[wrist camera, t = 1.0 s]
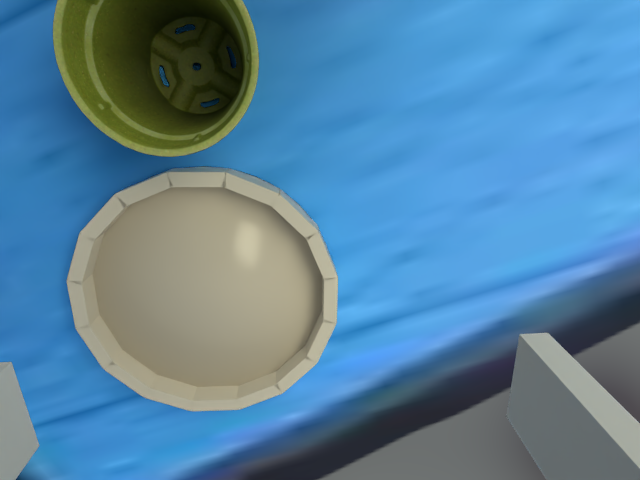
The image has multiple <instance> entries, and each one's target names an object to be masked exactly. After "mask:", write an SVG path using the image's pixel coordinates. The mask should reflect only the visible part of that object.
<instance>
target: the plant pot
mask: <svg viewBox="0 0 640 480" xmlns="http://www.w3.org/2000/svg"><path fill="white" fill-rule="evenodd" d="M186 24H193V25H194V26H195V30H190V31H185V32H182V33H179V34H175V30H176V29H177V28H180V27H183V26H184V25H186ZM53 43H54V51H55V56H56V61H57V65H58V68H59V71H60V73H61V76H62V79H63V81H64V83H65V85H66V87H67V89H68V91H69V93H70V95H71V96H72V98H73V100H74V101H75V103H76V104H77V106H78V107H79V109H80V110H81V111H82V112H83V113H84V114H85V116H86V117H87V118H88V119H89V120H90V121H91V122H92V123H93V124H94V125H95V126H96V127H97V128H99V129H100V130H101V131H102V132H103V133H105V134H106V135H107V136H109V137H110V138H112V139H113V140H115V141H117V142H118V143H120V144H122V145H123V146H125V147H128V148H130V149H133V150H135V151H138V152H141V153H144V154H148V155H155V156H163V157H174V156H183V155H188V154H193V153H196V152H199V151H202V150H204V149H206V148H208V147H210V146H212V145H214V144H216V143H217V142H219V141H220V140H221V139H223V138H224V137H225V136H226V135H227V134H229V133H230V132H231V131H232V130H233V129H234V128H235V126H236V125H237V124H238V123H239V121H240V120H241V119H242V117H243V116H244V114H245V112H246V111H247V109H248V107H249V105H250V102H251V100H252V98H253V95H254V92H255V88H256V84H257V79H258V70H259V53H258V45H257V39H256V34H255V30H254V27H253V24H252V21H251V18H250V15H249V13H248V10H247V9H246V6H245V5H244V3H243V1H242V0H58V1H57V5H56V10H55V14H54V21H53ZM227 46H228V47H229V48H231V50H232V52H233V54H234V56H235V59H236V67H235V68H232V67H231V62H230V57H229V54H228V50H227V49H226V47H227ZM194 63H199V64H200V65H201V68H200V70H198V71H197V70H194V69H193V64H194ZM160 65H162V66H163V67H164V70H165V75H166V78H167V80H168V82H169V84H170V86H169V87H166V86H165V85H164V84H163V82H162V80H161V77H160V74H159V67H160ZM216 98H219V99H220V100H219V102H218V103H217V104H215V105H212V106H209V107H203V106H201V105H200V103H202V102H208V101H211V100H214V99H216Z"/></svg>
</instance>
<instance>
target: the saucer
mask: <svg viewBox="0 0 640 480" xmlns="http://www.w3.org/2000/svg"><path fill="white" fill-rule="evenodd" d="M67 286H68V292H69V297H70V302H71V307H72V312H73V318H74V323H75V328H77V329H76V330H77V331H78V333H79V334H80V336H81V337H82V339H83V340H84V342H85V343H86V345H87V346H88V348H89V349H90V350H91V352H92V353H93V355H94V356H95V358H96V359H97V361H98V362H99V364H100V365H101V366H102V368H103V369H104V368H105V369H104V370H105V371H107V372H108V373H110V374H111V375H112V376H114V377H115V378H117V379H118V380H120V381H121V382H122V383H124V384H125V385H127V386H128V387H130V388H131V389H132V390H134V391H135V392H137V393H138V394H140V395H141V396H142V397H144V396H145V398H147V399H151V400H154V401H158V402H161V403H164V404H168V405H171V406H175V407H178V408H182V409H185V410H188V411H191V409H192V411H215V410H239V409H242V408H245V407H248V406H250V405H253V404H256V403H258V402H261V401H264V400H266V399H269V398H272V397H274V396H277V395H280V394H282V392H283V393H284V392H285V391H286V390H287V389H288V388H290V387H291V386H292V385H293V384H294V383H295V382H296V381H298V380H299V379H300V378H301V377H302V376H303V375H304V374H306V373H307V372H308V371H309V370H310V369H311V368H312V367H314V366H315V365H316V363H317V362H318V360H319V358H320V356H321V354H322V352H323V350H324V348H325V346H326V344H327V342H328V340H329V338H330V336H331V334H332V332H333V330H334V328H335V326H336V323H337V292H338V276H337V272H336V268H335V266H334V263H333V261H332V259H331V256H330V254H329V251H328V248H327V246H326V243H325V241H324V239H323V237H322V235H321V232H320V230H319V228H318V225H317V224H316V223H315V222H314V221H313V220H312V219H311V217H310V216H309V215H308V214H307V213H306V212H305V211H304V209H303V208H302V207H301V206H300V205H299V204H298V203H297V202H296V201H294V200H293V199H292V198H291V197H290V196H288V195H287V194H286V193H285V192H283V191H282V190H281V189H280V188H277V187H275V186H274V185H272V184H270V183H268V182H266V181H264V180H262V179H260V178H258V177H256V176H253V175H250V174H247V173H244V172H241V171H237V170H233V169H229V168H222V167H208V166H200V167H185V168H172V169H170V170H168V171H165V172H163V173H161V174H158V175H155V176H152V177H150V178H148V179H146V180H144V181H142V182H139V183H137V184H134V185H132V186H130V187H127V188H125V189H123V190H121V191H119V192H118V193H116V194H114V195H113V197H112V198H111V199H110V200H109V201H108V202H107V203H106V204H105V205H104V206H103V208H102V209H101V210H100V211H99V212H98V213H97V214H96V215H95V216H94V218H93V219H92V220H91V221H90V222H89V223H88V224H87V225H86V226H85V227H84V229H83V230H82V231H81V232H80V233H79V237H78V240H77V244H76V248H75V251H74V255H73V259H72V262H71V266H70V270H69V273H68V277H67Z"/></svg>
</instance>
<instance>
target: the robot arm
mask: <svg viewBox="0 0 640 480" xmlns="http://www.w3.org/2000/svg"><path fill="white" fill-rule="evenodd" d="M507 418H508V420H509V421H510V423H511V425H512V426H513V428H514V429H515V431H516V432H517V434H518V436H519V437H520V439H521V440H522V442H523V443H524V445H525V447H526V448H527V450H528V451H529V453H530V455H531V456H532V457H533V459H534V461H535V462H536V464H537V466H538V467H539V469H540V470H541V472H542V473H543V475H544V477H545V478H546V480H640V423H639V422H637V421H636V420H635V419H634V418H633V417H632V416H631V415H630V414H629V413H628V412H627V411H626V410H625V409H624V408H623V407H622V406H621V405H620V404H619V403H618V402H617V401H616V400H615V399H614V398H613V397H612V396H611V395H610V394H609V393H608V392H607V391H606V390H605V389H604V388H603V387H602V386H601V385H600V384H599V383H598V382H597V381H596V380H595V379H594V378H593V377H592V376H591V375H590V374H589V373H588V372H587V371H586V370H585V369H584V368H583V367H582V366H581V365H580V364H579V363H578V362H577V361H576V360H575V359H574V358H573V357H572V356H571V355H570V354H569V353H568V352H567V351H566V350H565V349H564V348H563V347H562V346H561V345H560V344H558V343H557V342H556V341H555V340H554V339H553V338H552V337H551V336H550V335H549V334H548V333H536V334H520V335H519V341H518V348H517V354H516V360H515V366H514V372H513V379H512V385H511V391H510V397H509V404H508V410H507ZM38 447H39V443H38V440H37V437H36V434H35V431H34V428H33V425H32V422H31V419H30V416H29V413H28V410H27V407H26V404H25V401H24V398H23V395H22V392H21V389H20V386H19V383H18V380H17V377H16V374H15V371H14V368H13V365H12V362H0V480H16V478H17V477H18V475H19V474H20V472H21V471H22V470H23V468H24V467H25V465H26V464H27V463H28V461H29V460H30V458H31V457H32V455H33V454H34V453H35V451H36V450H37V448H38Z"/></svg>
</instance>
